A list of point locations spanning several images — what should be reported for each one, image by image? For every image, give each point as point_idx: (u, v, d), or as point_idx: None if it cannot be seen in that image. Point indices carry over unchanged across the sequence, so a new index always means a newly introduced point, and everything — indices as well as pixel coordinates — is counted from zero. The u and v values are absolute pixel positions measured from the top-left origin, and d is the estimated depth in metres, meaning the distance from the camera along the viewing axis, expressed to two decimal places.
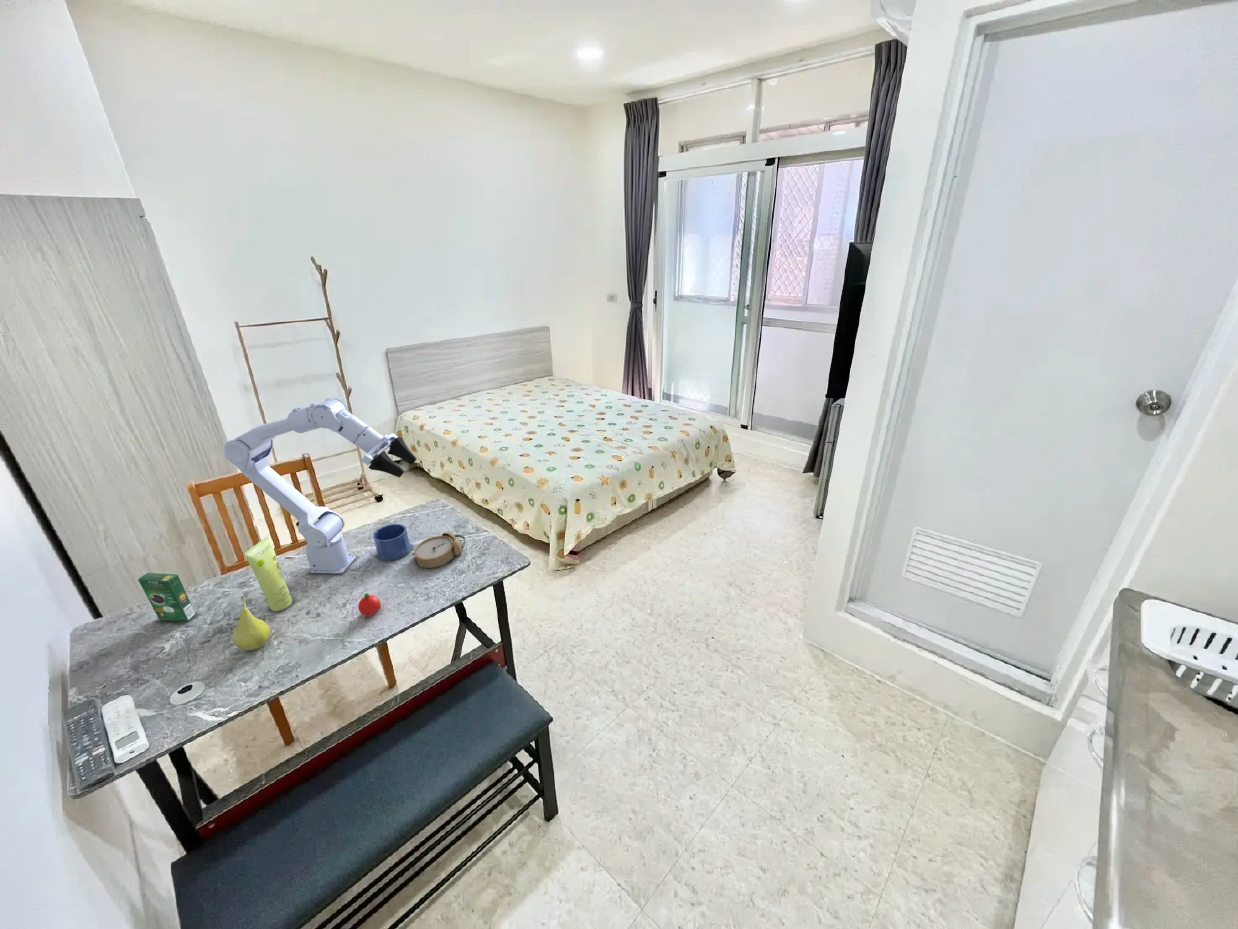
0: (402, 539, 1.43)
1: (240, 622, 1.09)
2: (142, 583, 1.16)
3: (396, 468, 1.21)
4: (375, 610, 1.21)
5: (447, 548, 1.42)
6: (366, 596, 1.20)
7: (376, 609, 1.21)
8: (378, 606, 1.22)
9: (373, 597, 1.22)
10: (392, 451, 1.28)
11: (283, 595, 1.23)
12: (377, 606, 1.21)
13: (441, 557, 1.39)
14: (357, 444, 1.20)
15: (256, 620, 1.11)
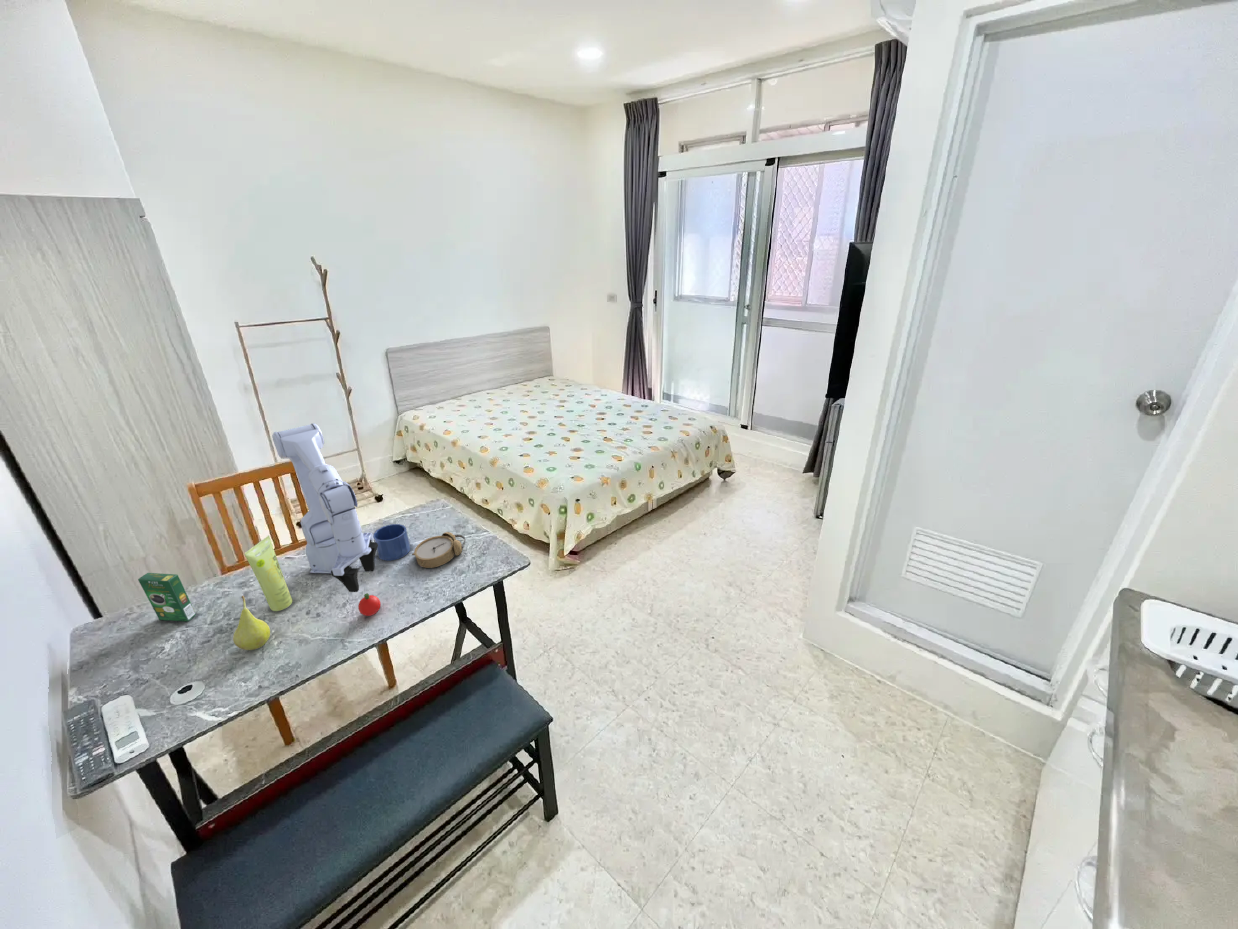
0: (402, 539, 1.43)
1: (240, 622, 1.09)
2: (142, 583, 1.16)
3: (354, 586, 1.14)
4: (375, 610, 1.21)
5: (447, 548, 1.42)
6: (366, 596, 1.20)
7: (376, 609, 1.21)
8: (378, 606, 1.22)
9: (373, 597, 1.22)
10: None
11: (284, 595, 1.23)
12: (377, 606, 1.21)
13: (441, 557, 1.39)
14: (338, 543, 1.11)
15: (256, 620, 1.11)
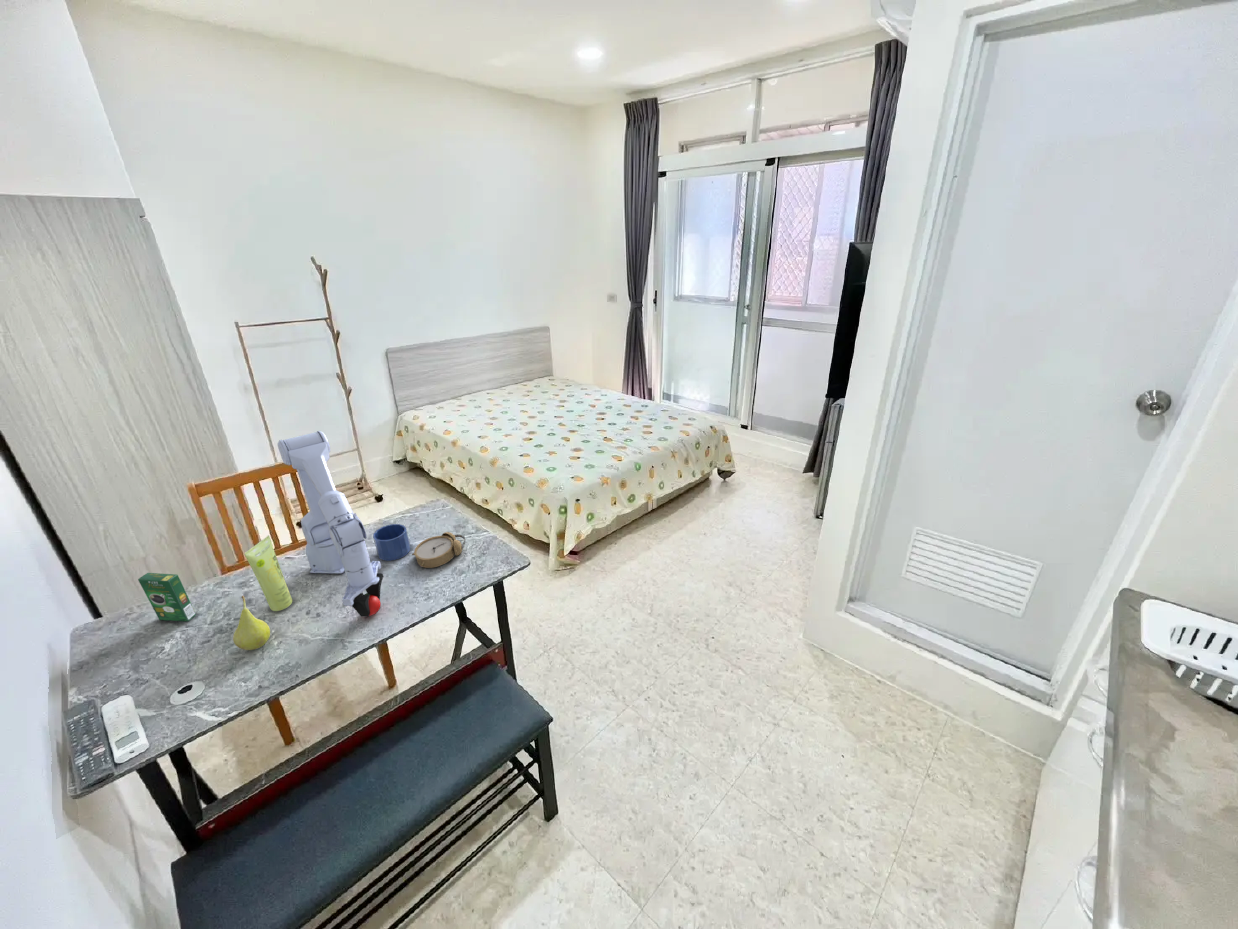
0: (402, 539, 1.43)
1: (240, 622, 1.09)
2: (142, 583, 1.16)
3: (365, 611, 1.19)
4: (375, 610, 1.21)
5: (447, 548, 1.42)
6: None
7: (376, 609, 1.21)
8: (378, 606, 1.22)
9: (373, 597, 1.22)
10: None
11: (283, 595, 1.23)
12: (377, 606, 1.21)
13: (441, 557, 1.39)
14: (348, 574, 1.15)
15: (256, 620, 1.11)
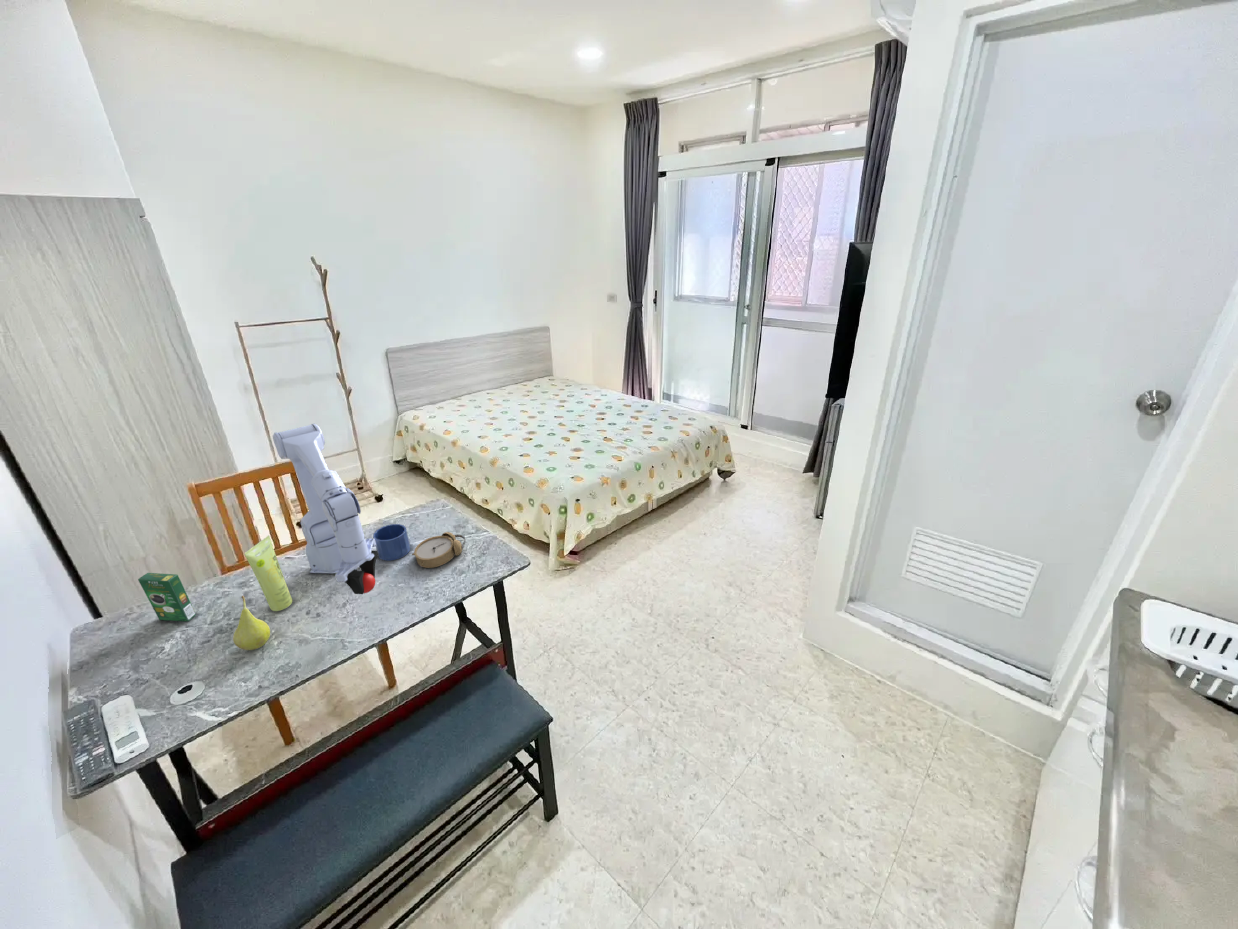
0: (402, 539, 1.43)
1: (240, 622, 1.09)
2: (142, 583, 1.16)
3: (360, 588, 1.16)
4: (370, 588, 1.19)
5: (447, 548, 1.42)
6: None
7: (371, 587, 1.19)
8: (373, 584, 1.19)
9: (368, 574, 1.19)
10: None
11: (284, 595, 1.23)
12: (372, 583, 1.19)
13: (441, 557, 1.39)
14: (341, 549, 1.12)
15: (256, 620, 1.11)
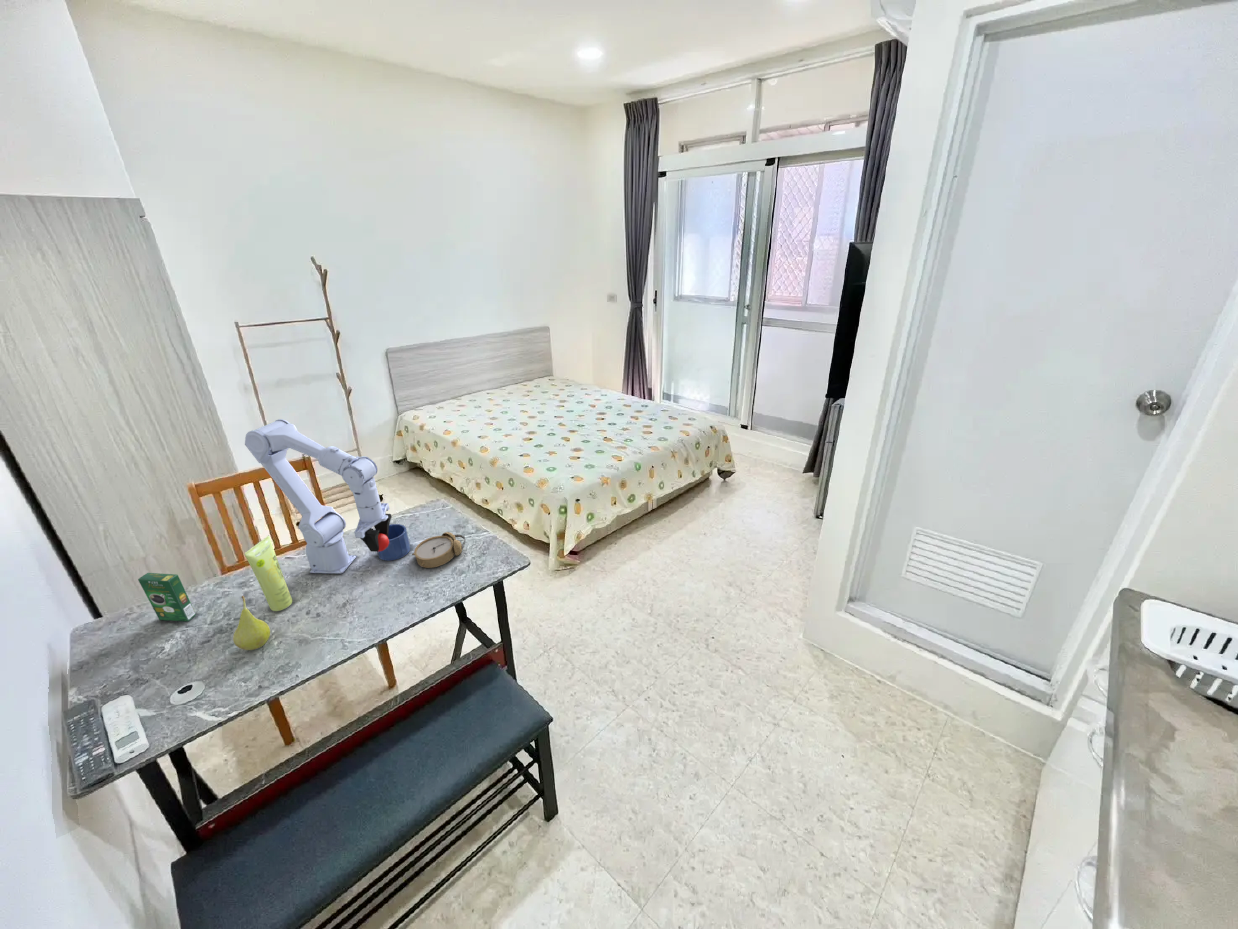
0: (402, 539, 1.43)
1: (240, 622, 1.09)
2: (142, 583, 1.16)
3: (375, 546, 1.30)
4: (384, 546, 1.32)
5: (447, 548, 1.42)
6: None
7: (385, 545, 1.32)
8: (387, 543, 1.33)
9: (382, 534, 1.33)
10: None
11: (284, 595, 1.23)
12: (386, 542, 1.33)
13: (441, 557, 1.39)
14: (359, 510, 1.26)
15: (256, 620, 1.11)
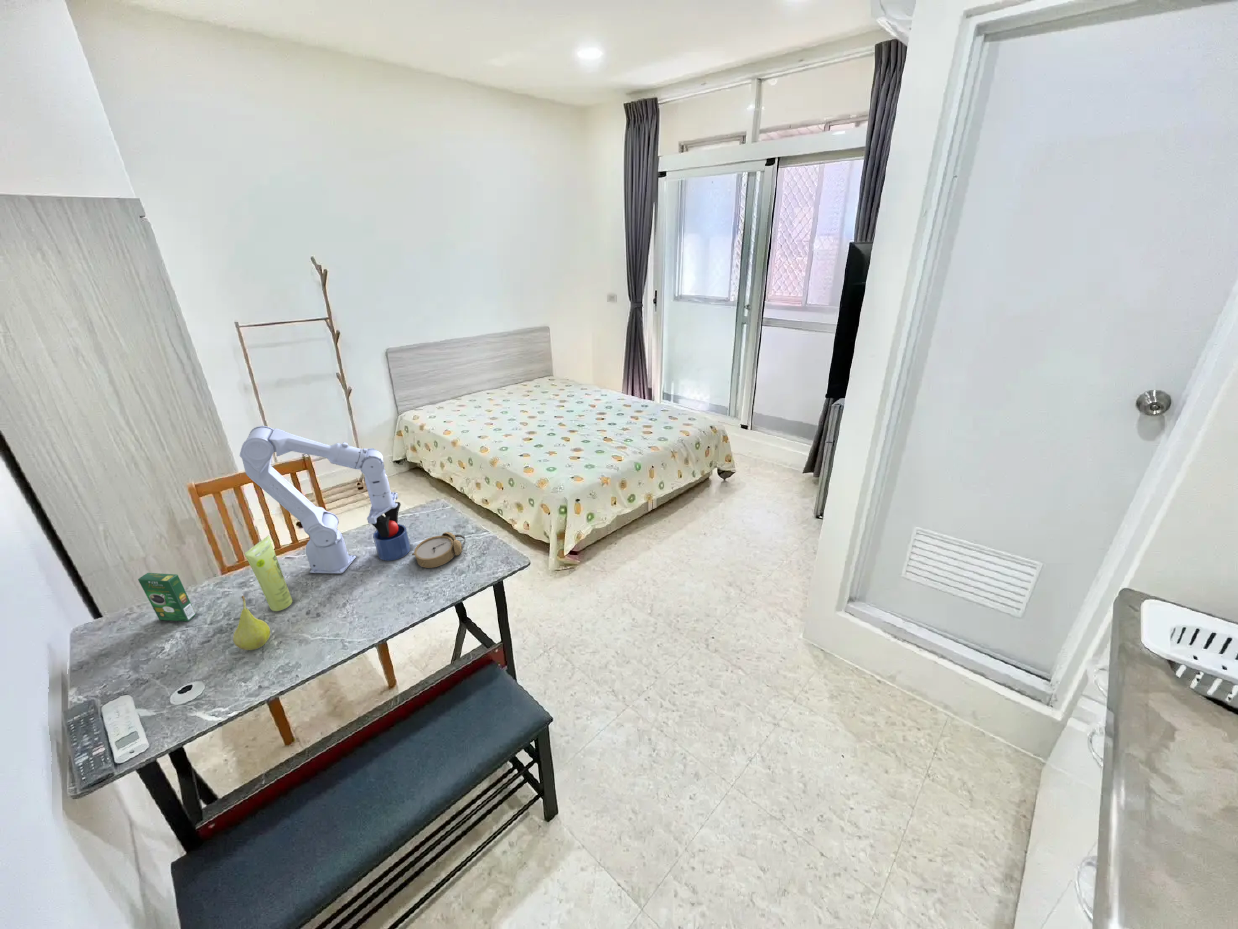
0: (402, 539, 1.43)
1: (240, 622, 1.09)
2: (142, 583, 1.16)
3: (386, 531, 1.40)
4: (394, 532, 1.42)
5: (447, 548, 1.42)
6: None
7: (395, 531, 1.42)
8: (396, 529, 1.43)
9: (392, 521, 1.43)
10: None
11: (284, 595, 1.23)
12: (396, 529, 1.42)
13: (441, 557, 1.39)
14: (371, 498, 1.36)
15: (256, 620, 1.11)
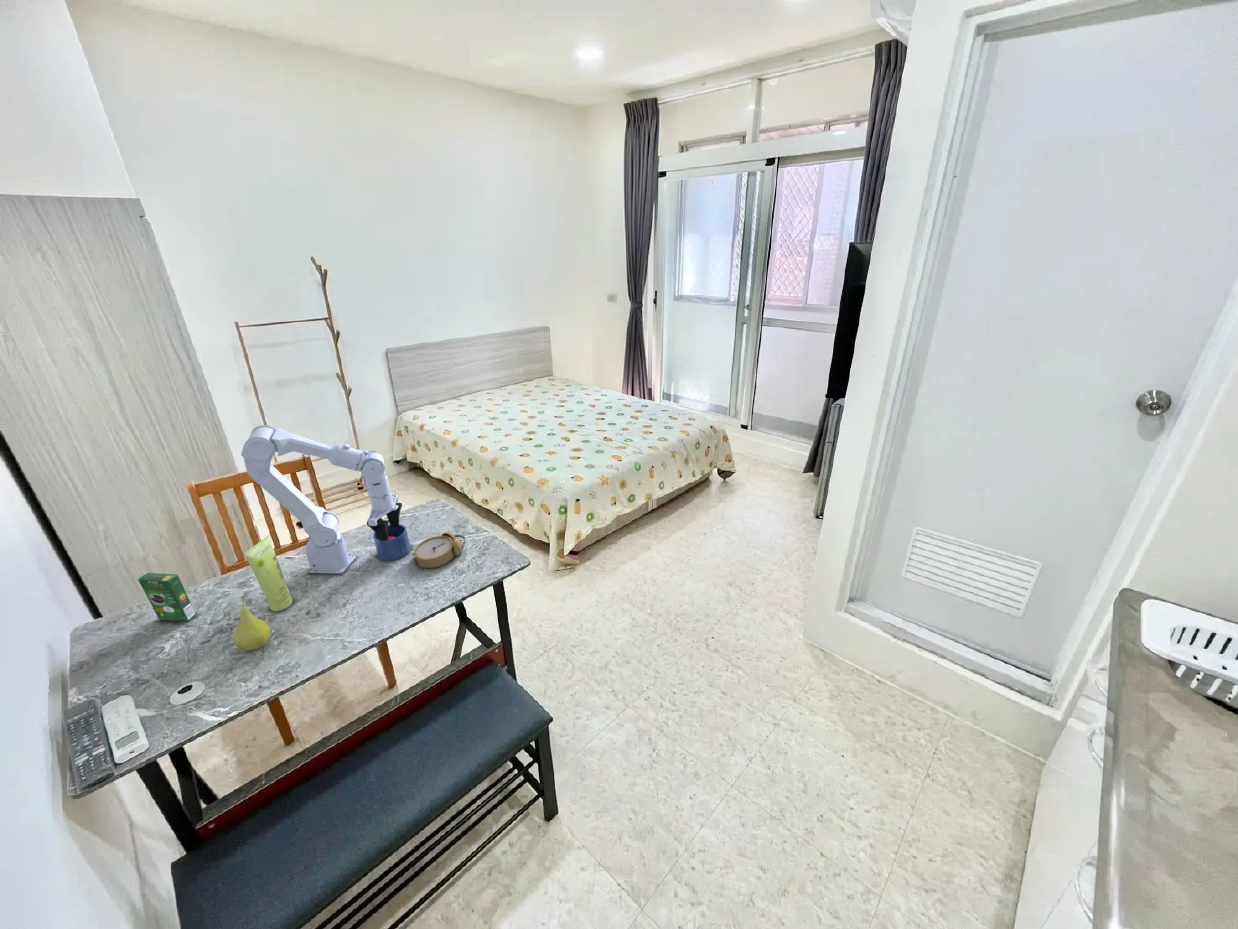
0: (402, 539, 1.43)
1: (240, 622, 1.09)
2: (142, 583, 1.16)
3: (385, 535, 1.39)
4: None
5: (447, 548, 1.42)
6: None
7: None
8: None
9: None
10: None
11: (283, 595, 1.23)
12: None
13: (441, 557, 1.39)
14: (372, 500, 1.36)
15: (256, 620, 1.11)
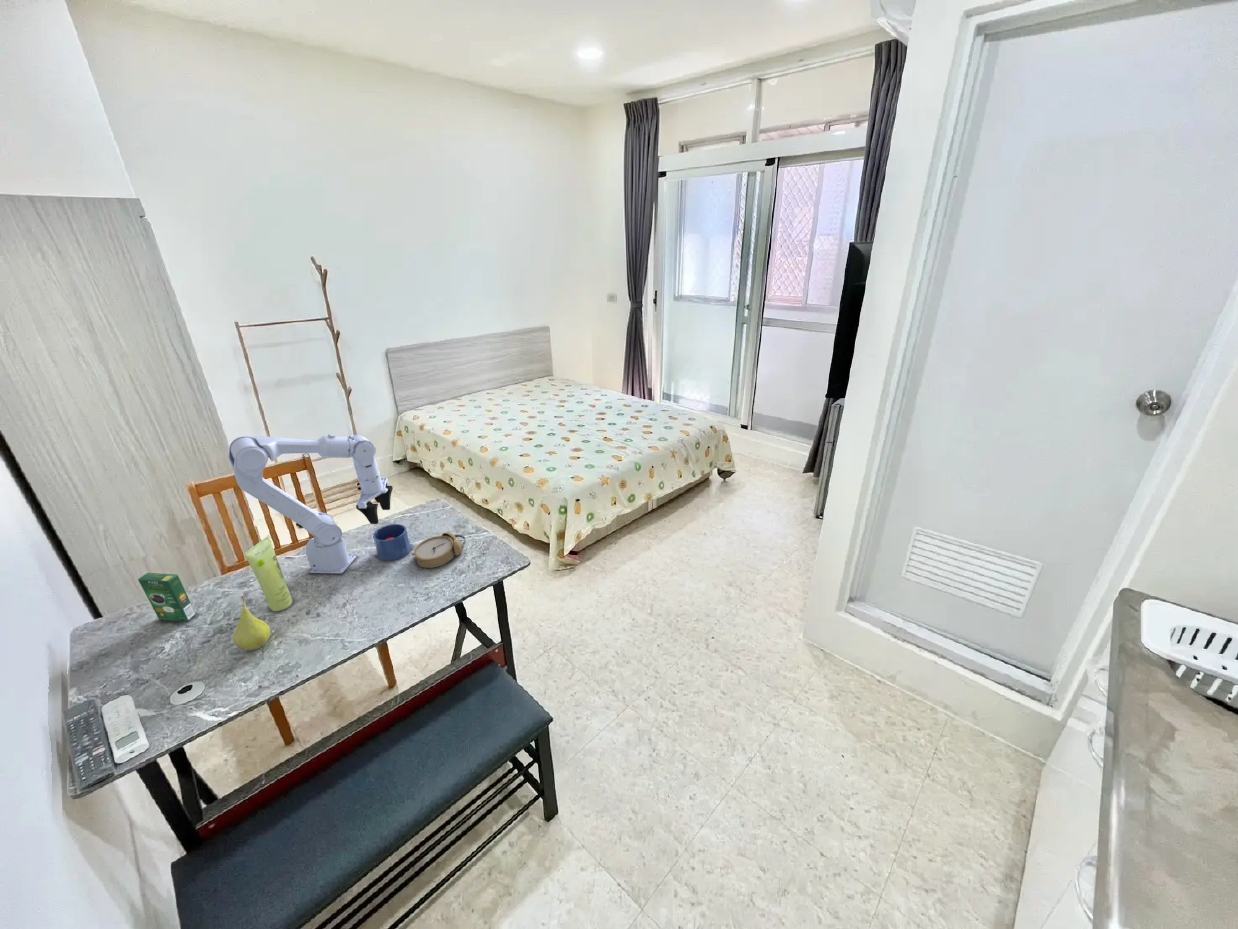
0: (402, 539, 1.43)
1: (240, 622, 1.09)
2: (142, 583, 1.16)
3: (375, 518, 1.41)
4: None
5: (447, 548, 1.42)
6: None
7: None
8: None
9: None
10: None
11: (284, 595, 1.23)
12: None
13: (441, 557, 1.39)
14: (361, 483, 1.37)
15: (256, 620, 1.11)
